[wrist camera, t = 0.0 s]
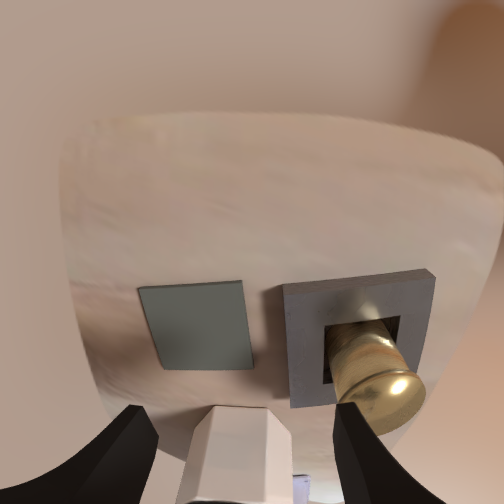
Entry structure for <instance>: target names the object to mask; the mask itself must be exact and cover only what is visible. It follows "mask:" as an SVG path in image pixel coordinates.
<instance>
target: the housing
mask: <svg viewBox="0 0 504 504" xmlns="http://www.w3.org/2000/svg"><path fill="white" fill-rule="evenodd" d="M435 280H436V277H435V276H434V275H433V274H432V273H430V272H429V271H428V270H427V269H420V270H412V271H404V272H396V273H388V274H379V275H370V276H361V277H352V278H343V279H333V280H323V281H313V282H302V283H291V284H282V285H283V298H284V311H285V325H286V340H287V355H288V372H289V390H290V408H301V407H312V406H321V405H329V404H336V403H338V400H337V396H336V391H335V387H334V383H333V378H332V374H331V370H326V371H323V365H324V326H326V325H334V324H343V323H351V322H358V321H366V320H373V319H380V318H386V317H391V324H390V331H389V334H390V336H391V338H392V339H393V341H394V343H395V345H396V346H397V348H398V350H399V352H400V353H401V355H402V357H403V359H404V361H405V363H406V364H407V366H408V368H409V370H410V371H412V372H414V373H417V369H418V365H419V362H420V358H421V354H422V350H423V346H424V341H425V337H426V332H427V327H428V322H429V317H430V312H431V306H432V300H433V294H434V287H435Z"/></svg>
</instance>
